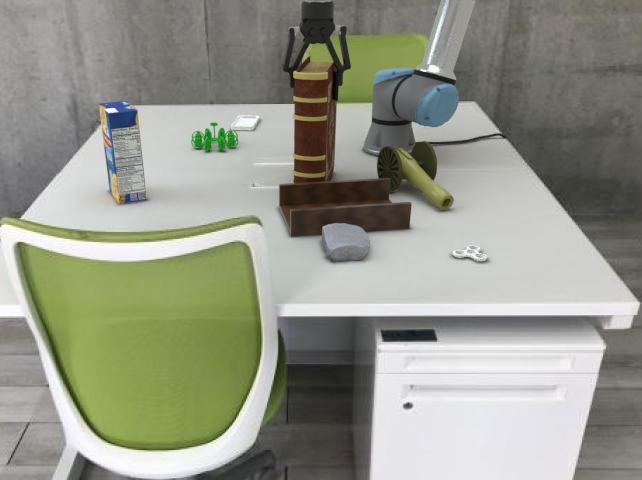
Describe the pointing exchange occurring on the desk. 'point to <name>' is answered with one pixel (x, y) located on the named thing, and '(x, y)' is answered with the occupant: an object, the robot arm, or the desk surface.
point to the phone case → (245, 123)
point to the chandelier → (214, 139)
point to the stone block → (345, 242)
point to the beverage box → (123, 151)
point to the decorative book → (314, 122)
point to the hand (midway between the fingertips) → (315, 100)
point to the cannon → (414, 171)
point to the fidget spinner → (470, 253)
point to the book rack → (341, 206)
